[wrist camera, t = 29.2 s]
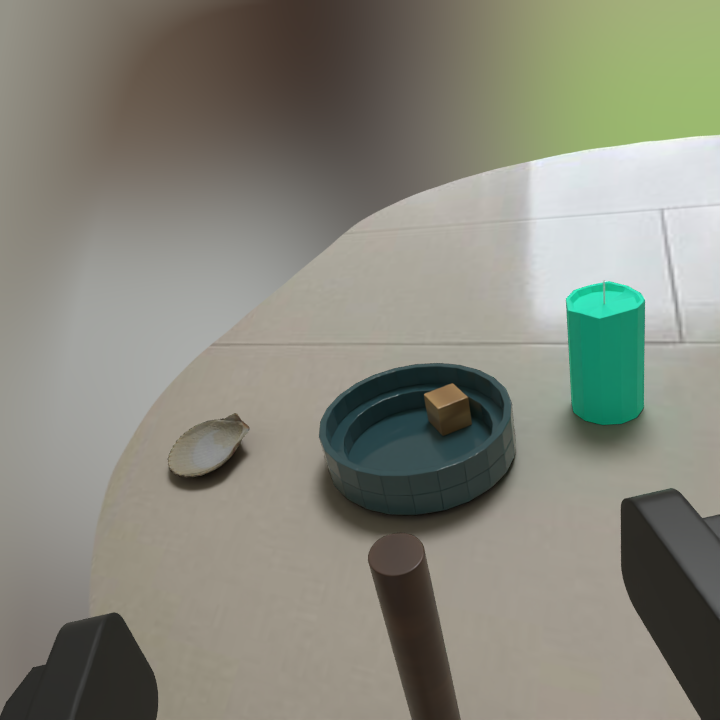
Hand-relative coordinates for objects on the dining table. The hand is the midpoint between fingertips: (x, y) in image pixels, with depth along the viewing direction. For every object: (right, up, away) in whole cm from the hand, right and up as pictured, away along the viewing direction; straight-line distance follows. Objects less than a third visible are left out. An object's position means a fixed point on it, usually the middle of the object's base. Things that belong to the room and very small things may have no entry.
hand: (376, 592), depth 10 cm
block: (+8, -2, +47) cm, 48 cm away
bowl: (+5, -5, +45) cm, 45 cm away
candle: (+22, 0, +46) cm, 51 cm away
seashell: (-15, -6, +51) cm, 53 cm away
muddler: (+4, -17, +22) cm, 28 cm away
